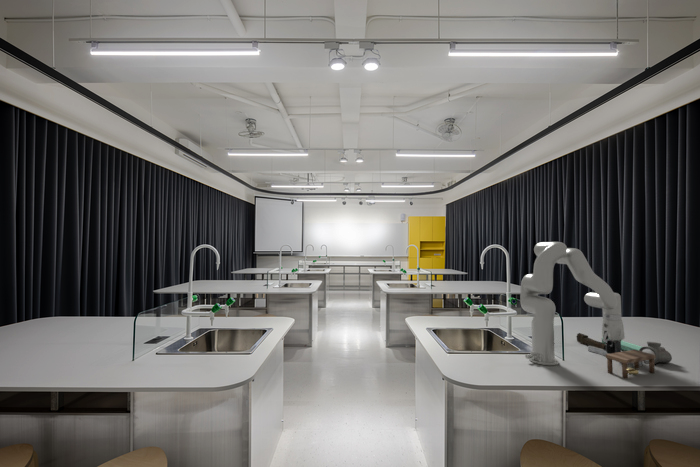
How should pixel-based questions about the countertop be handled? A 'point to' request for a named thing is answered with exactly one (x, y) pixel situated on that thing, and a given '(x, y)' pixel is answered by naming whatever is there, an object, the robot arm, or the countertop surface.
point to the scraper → (603, 352)
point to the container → (627, 346)
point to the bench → (630, 360)
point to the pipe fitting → (656, 352)
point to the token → (632, 371)
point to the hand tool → (590, 341)
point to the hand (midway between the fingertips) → (613, 352)
